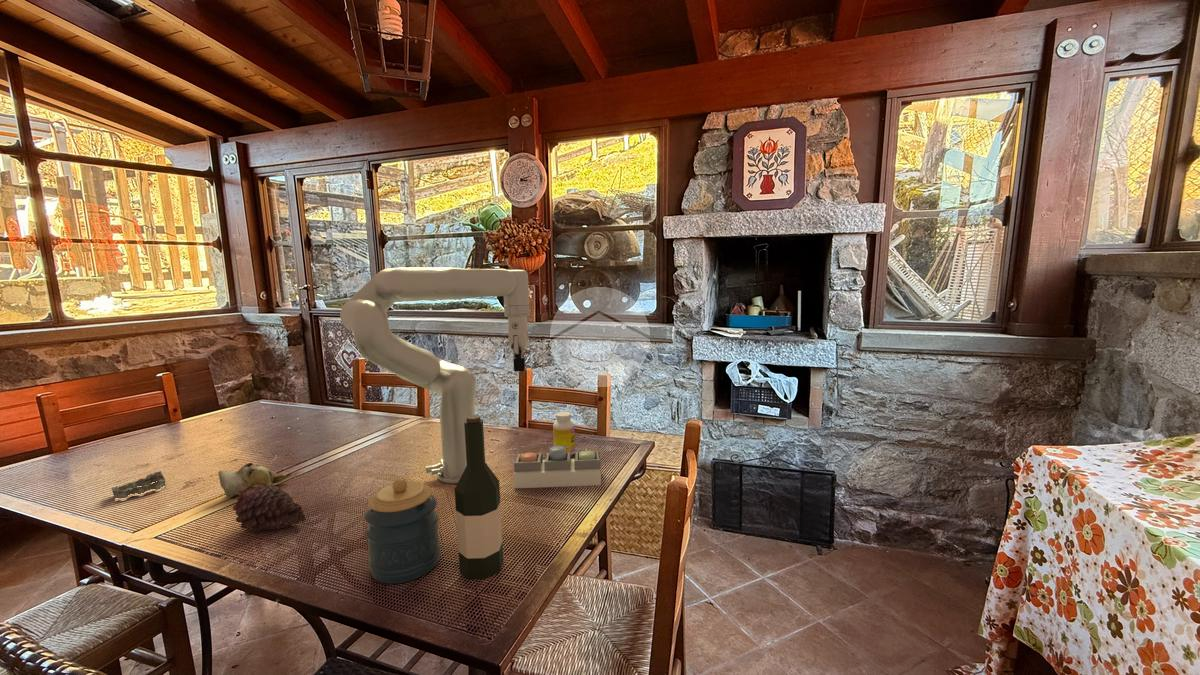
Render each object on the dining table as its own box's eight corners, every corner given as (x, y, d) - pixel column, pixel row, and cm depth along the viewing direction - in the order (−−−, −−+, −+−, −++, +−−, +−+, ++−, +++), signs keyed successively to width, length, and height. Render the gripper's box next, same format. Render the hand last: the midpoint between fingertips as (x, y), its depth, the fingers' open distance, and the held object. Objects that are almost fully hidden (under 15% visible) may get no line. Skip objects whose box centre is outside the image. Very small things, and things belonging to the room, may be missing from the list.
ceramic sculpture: (227, 457, 127) (291, 453, 132) (229, 488, 128) (292, 483, 133) (208, 473, 117) (278, 468, 122) (210, 506, 118) (279, 500, 123)
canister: (401, 541, 101) (395, 462, 98) (454, 550, 97) (448, 469, 94) (353, 579, 88) (345, 490, 86) (411, 591, 84) (404, 498, 82)
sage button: (579, 467, 127) (579, 457, 127) (579, 461, 131) (579, 451, 131) (595, 467, 127) (595, 456, 127) (595, 460, 132) (594, 450, 131)
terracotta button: (519, 469, 126) (519, 459, 126) (521, 463, 131) (521, 452, 130) (536, 469, 127) (535, 458, 126) (537, 462, 131) (537, 452, 131)
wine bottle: (457, 560, 94) (447, 414, 90) (499, 549, 97) (491, 408, 93) (462, 584, 86) (452, 426, 82) (507, 572, 89) (500, 419, 85)
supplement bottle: (574, 457, 145) (573, 417, 144) (552, 457, 145) (551, 417, 144) (575, 449, 152) (574, 410, 150) (555, 449, 152) (554, 411, 150)
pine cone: (322, 513, 113) (312, 490, 107) (291, 552, 106) (278, 530, 99) (257, 491, 115) (243, 467, 109) (222, 528, 107) (205, 505, 101)
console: (514, 488, 125) (513, 465, 124) (518, 474, 134) (517, 452, 133) (601, 485, 126) (600, 461, 125) (599, 471, 134) (599, 449, 134)
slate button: (549, 462, 127) (549, 452, 126) (550, 456, 131) (550, 446, 131) (565, 462, 127) (565, 451, 126) (566, 456, 131) (566, 445, 131)
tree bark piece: (165, 483, 133) (163, 469, 132) (167, 491, 128) (165, 477, 127) (112, 495, 125) (110, 481, 125) (113, 504, 120) (110, 489, 120)
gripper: (526, 312, 134) (529, 375, 137) (532, 309, 149) (534, 365, 152) (500, 313, 134) (503, 376, 137) (508, 309, 149) (510, 366, 151)
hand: (519, 370), depth 144 cm, fingers closed
